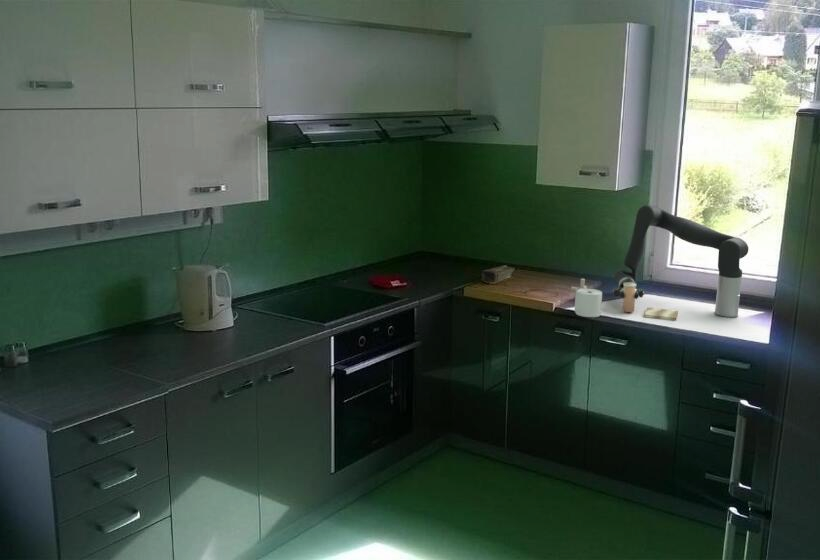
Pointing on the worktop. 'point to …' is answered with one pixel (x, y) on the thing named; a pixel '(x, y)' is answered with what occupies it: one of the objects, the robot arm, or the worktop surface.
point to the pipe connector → (582, 286)
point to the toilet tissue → (588, 302)
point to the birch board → (661, 313)
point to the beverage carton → (498, 273)
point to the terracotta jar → (629, 296)
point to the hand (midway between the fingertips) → (629, 296)
